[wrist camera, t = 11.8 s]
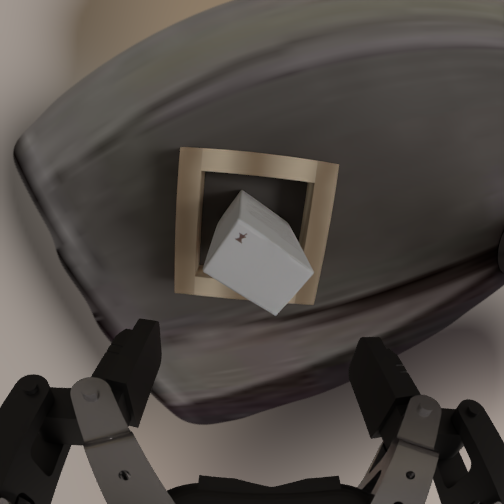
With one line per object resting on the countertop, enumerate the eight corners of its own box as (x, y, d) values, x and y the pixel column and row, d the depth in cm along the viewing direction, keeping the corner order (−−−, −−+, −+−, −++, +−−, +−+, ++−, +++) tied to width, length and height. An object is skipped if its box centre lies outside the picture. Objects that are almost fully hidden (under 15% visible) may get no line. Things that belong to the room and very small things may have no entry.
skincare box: (216, 222, 29) (198, 270, 18) (241, 188, 28) (237, 215, 17) (265, 256, 31) (276, 319, 19) (290, 223, 29) (317, 271, 18)
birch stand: (330, 162, 27) (339, 164, 25) (308, 291, 32) (313, 304, 29) (187, 147, 27) (180, 146, 24) (180, 279, 31) (174, 292, 28)
